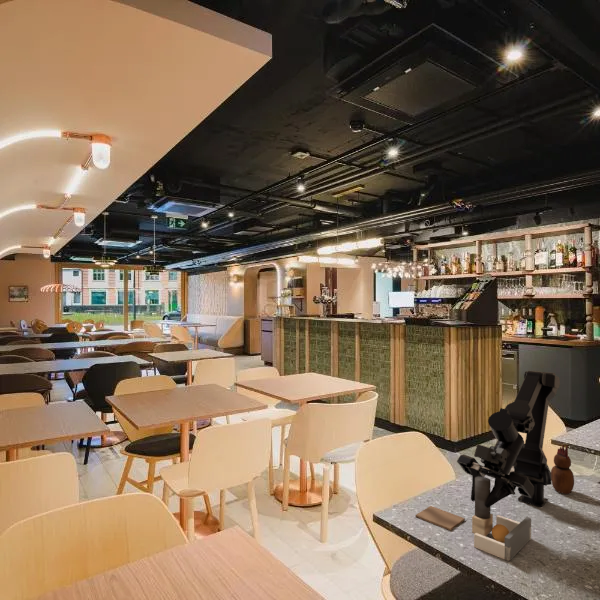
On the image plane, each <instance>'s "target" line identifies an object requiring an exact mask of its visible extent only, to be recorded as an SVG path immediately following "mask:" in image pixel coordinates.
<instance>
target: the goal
mask: <svg viewBox="0 0 600 600" xmlns="http://www.w3.org/2000/svg"><path fill="white" fill-rule="evenodd" d="M495 518H496V519H495V521H496V524H495V525H497V524H501V525H504V526H505V527H506V528H507V529H508V530H509V534H508V535H507V536H505V543H501V542H499V541H496V540H495V539H494V538H492V537H491V538H490V537H488V536H483V535H480V534H478V533H475V534H474V533H473V542H474V543H473V547H474V548H476V549H477V550H481V551H482V552H485V553H488V554H490V555H493V556H495V557H498V558H500V559H503V560H505V561H506V562H510V561H512V559H513V558H514V557H515V556H516V555H517V554H518V553H519V552H520V551H521V550H522V549H523V548H524V547H525V545H527V544H528V542H529V541H530V540H532V518H531V517H529V516H526V517H525V518H524V519H522V521H516V520H514V519H510V518H507V517H505V516H502V515H499V514H498V515H496V517H495Z"/></svg>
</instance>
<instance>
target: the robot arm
mask: <svg viewBox="0 0 600 600" xmlns="http://www.w3.org/2000/svg"><path fill="white" fill-rule="evenodd" d="M560 386H561V381H560V377H559V376H558V375H556V373H555V372H549V371H539V370H527V371H525V372H524V374H523V380H522V384H521V386H520V388H519V390H518V392H517V394H516V397H515V399H514V400H513V401H512V402H510V403H508V404H506V406H505V407H504V408H502V407H500V409H499V411H495V412H494V413H492V414H491V415H490V416H488V419H487V420H488V421H487V422H488V425H489V427H490V430H491V431H492V434H493V435H494V437H495V439H496V440H497V441H496V442H495V444H494V445H490V446H489V447H488V446H484V445H481V444H478V443H477V444H476V447H475V451H474V454H473V457H472V456H470V455H466V454H461V455H460V456H459V457H458V458H457V460H456V463H457V464H458V465H459V467H461V469H462V470H463V472H464V473H466V474H467V475H470V476H471V478H472V484H471V490H470V491H471V494H470V500H471V501H472V502H473V503H475V477H486V476H488V477H490V478H492V479H494V484H493V487H492V489H491V490H490V494H489V496H488V498H487V500H486V503H485V506H486V508H489V507H490V508H491V507H492V506H493V505H495V504H497V503H498V502H499V501H501V500H503V499H505V498H507V497H508V496H511V495H513V496H515V495H516V492H515V490H516V489H517V491H518V493H519V494H520V496H518V497H517V501H520V502H522V503H525V504H529V505H532V506H535V507H539V508H542V507H543V506H545V505H546V504H547V503H548V501H549V498H547V497H545V487H546V486H548V485H549V486H550V485H552V480H551V479H552V478H551V470H550V467H549V464H548V459H547V457H546V454H545V452H544V450H543V445H544V439H545V433H546V432H545V431H546V424H547V420H548V419H547V418H548V411H549V405H550V402H551V400H553V399H554V398H555V397H556V395H557V391H558V389H559V388H560ZM520 433H522V434H526V435H525V440H524V437H523V436H522V434H520ZM475 458H479V459H480V461H479V462H481V463H482V464H483V465H481V464H479V462H478V461H477V460H476V459H475ZM512 466H514V472H510V470H511V468H512ZM509 472H510V473H509ZM508 474H509V475H508Z"/></svg>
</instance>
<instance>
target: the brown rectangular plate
mask: <svg viewBox="0 0 600 600" xmlns="http://www.w3.org/2000/svg"><path fill="white" fill-rule="evenodd" d="M415 518H417V519H420V520H422V521H424V522H427V523H430V524H433V525H435V526H437V527H440V528H443V529H445V530H447V531H452V530H453V529H455V528H456V527H458V526H459V525H460V524H462V523H463V522H464V521H465V520H466V519H465V517H462V516H459V515H456V514H455V513H451V512H449V511H446V510H443V509H440V508H437V507H435V506H433V505H429V506H428V507H426V508H424V509H423V510H421V511H420V512H418V513H416V514H415Z"/></svg>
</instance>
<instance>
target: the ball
mask: <svg viewBox="0 0 600 600" xmlns="http://www.w3.org/2000/svg"><path fill="white" fill-rule="evenodd" d="M508 534H509V530H508V529H507V528H506V527H505V526H504V525H501V524H497V525H496V524H495V525H493V528H492V531H491V536H492V537H493V538H492V539H493V540H496V541H499V542H501V543H504V544H505V536H507V535H508Z"/></svg>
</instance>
